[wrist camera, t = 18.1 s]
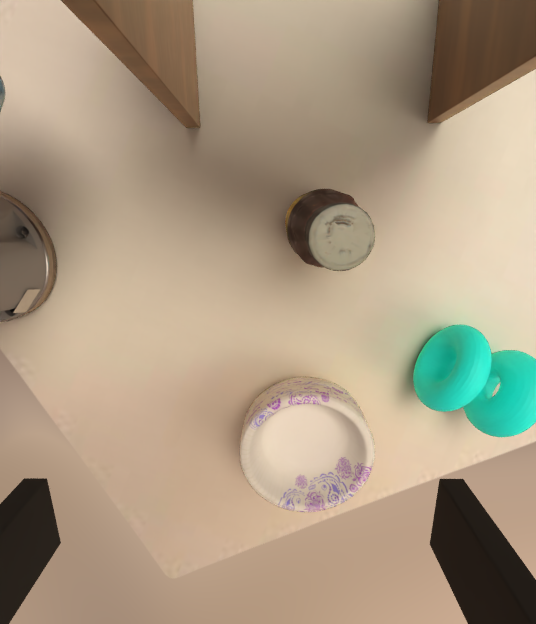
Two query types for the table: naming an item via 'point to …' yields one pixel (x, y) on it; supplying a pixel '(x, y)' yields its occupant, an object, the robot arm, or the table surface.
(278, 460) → the paper bowls
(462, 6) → the shelf
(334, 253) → the sauce bottle
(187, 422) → the table surface
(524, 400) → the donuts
